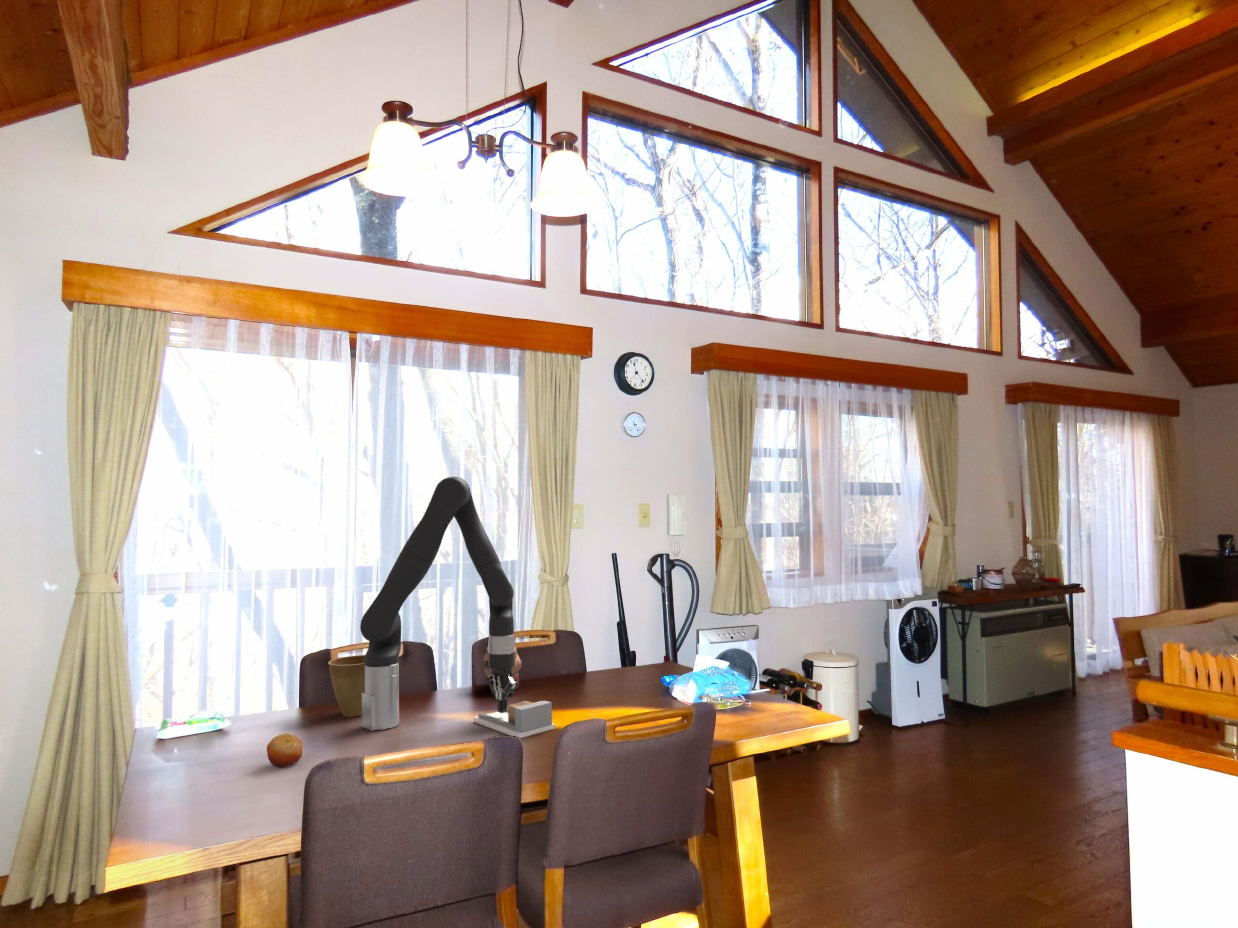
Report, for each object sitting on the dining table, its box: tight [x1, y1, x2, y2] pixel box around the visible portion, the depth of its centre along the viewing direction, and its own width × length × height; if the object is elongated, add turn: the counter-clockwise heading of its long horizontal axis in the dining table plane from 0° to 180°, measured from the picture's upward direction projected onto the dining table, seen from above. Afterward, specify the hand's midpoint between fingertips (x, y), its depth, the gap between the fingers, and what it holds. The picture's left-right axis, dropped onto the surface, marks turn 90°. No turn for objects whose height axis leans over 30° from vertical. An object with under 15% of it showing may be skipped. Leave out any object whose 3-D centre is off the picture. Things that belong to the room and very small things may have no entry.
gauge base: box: [473, 700, 556, 739], centre depth 212 cm, size 12×22×7 cm, turn 42°
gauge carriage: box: [507, 700, 542, 725], centre depth 208 cm, size 9×6×6 cm, turn 132°
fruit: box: [266, 733, 304, 769], centre depth 184 cm, size 8×8×8 cm
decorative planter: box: [482, 646, 522, 689], centre depth 256 cm, size 20×12×14 cm, turn 36°
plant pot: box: [328, 654, 365, 718], centre depth 228 cm, size 15×15×16 cm
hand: (502, 711), depth 215 cm, fingers closed
